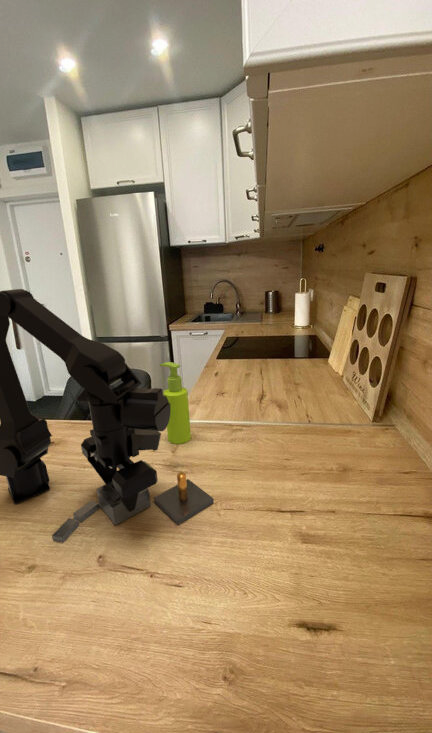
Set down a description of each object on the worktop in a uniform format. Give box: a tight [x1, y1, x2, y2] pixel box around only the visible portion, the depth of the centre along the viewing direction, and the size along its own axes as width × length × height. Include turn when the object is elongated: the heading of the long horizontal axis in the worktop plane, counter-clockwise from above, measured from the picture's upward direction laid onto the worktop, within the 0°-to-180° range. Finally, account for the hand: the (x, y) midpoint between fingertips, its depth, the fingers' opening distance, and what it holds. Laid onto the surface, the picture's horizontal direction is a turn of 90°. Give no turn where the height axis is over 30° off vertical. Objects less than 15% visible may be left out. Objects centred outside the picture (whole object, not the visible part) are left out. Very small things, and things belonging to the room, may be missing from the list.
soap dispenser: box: [159, 361, 192, 445], centre depth 82 cm, size 6×7×20 cm
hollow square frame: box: [95, 481, 151, 526], centre depth 61 cm, size 7×7×4 cm
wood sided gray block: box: [51, 517, 80, 544], centre depth 56 cm, size 4×2×1 cm, turn 163°
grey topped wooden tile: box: [72, 499, 100, 523], centre depth 60 cm, size 4×2×1 cm, turn 148°
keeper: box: [153, 471, 215, 526], centre depth 61 cm, size 8×8×6 cm
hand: (122, 500), depth 61 cm, fingers closed on hollow square frame, 7 cm apart
